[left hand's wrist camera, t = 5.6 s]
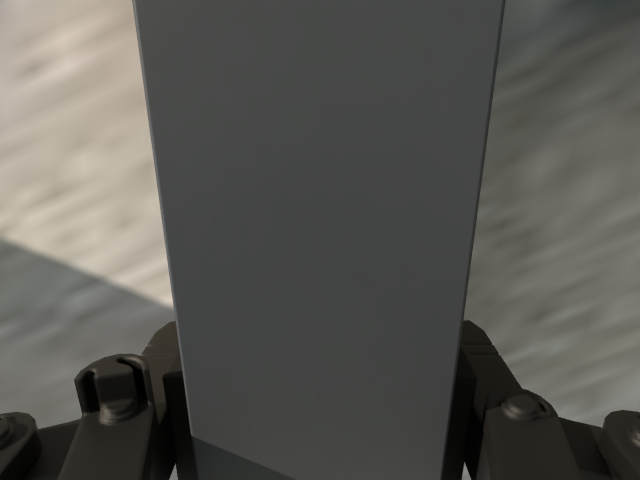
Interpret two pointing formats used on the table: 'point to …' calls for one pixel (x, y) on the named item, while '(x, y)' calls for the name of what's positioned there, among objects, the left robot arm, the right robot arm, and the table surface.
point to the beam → (319, 223)
